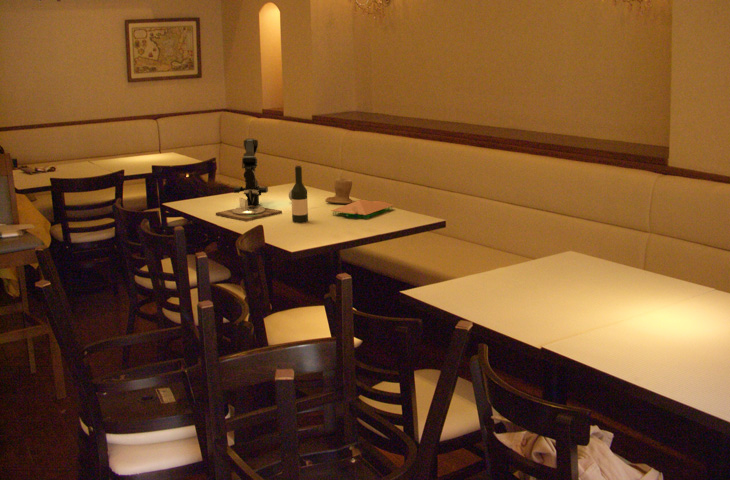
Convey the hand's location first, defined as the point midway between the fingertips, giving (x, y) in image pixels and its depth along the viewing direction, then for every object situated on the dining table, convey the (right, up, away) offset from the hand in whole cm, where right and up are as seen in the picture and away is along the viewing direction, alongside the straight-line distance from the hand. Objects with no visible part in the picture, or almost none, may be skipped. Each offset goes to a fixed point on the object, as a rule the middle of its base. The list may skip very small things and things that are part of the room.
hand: (251, 204), depth 421 cm
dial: (-1, -4, -7) cm, 8 cm away
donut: (+23, +2, +25) cm, 34 cm away
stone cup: (+50, +2, +21) cm, 54 cm away
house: (+63, -6, -7) cm, 64 cm away
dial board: (-1, -6, -7) cm, 9 cm away
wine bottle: (+30, -10, -26) cm, 41 cm away
